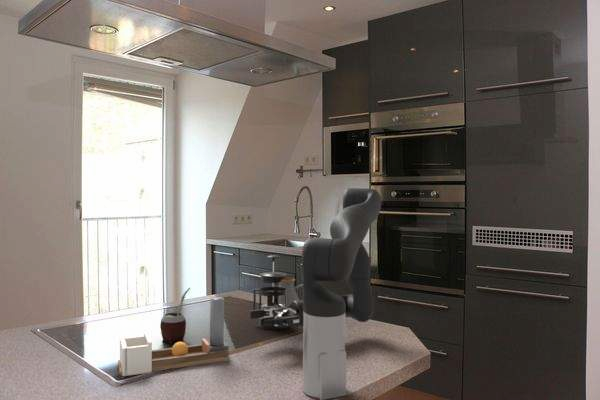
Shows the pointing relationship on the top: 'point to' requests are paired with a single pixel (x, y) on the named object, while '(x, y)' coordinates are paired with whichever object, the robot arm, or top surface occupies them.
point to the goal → (136, 355)
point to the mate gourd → (173, 326)
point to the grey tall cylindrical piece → (216, 327)
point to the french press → (271, 296)
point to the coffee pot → (289, 291)
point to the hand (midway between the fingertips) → (254, 318)
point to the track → (183, 358)
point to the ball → (179, 349)
